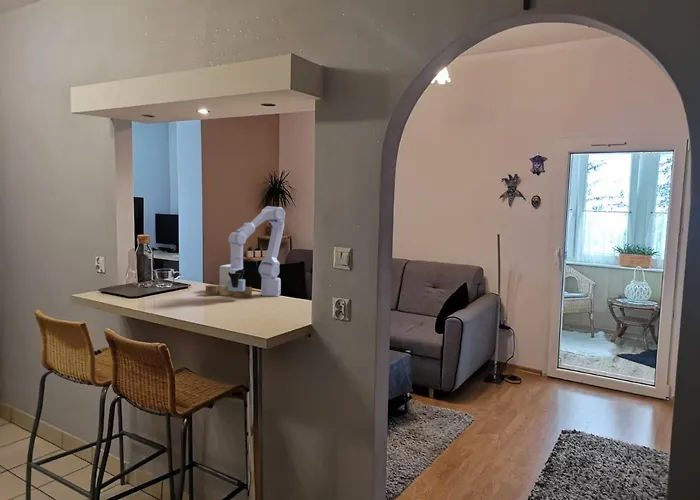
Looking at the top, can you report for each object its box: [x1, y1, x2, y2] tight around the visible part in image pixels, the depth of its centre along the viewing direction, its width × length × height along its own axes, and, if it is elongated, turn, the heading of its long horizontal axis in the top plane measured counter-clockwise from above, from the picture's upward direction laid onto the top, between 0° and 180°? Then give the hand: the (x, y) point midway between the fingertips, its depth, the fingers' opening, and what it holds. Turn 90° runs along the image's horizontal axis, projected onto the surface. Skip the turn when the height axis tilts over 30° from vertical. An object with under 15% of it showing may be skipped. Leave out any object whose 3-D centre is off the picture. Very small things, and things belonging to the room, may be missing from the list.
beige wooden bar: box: [205, 284, 253, 298], centre depth 263 cm, size 22×4×4 cm, turn 86°
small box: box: [219, 263, 231, 286], centre depth 276 cm, size 8×6×13 cm
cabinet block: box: [227, 278, 246, 291], centre depth 253 cm, size 8×4×5 cm, turn 86°
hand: (236, 286), depth 253 cm, fingers closed on cabinet block, 4 cm apart
